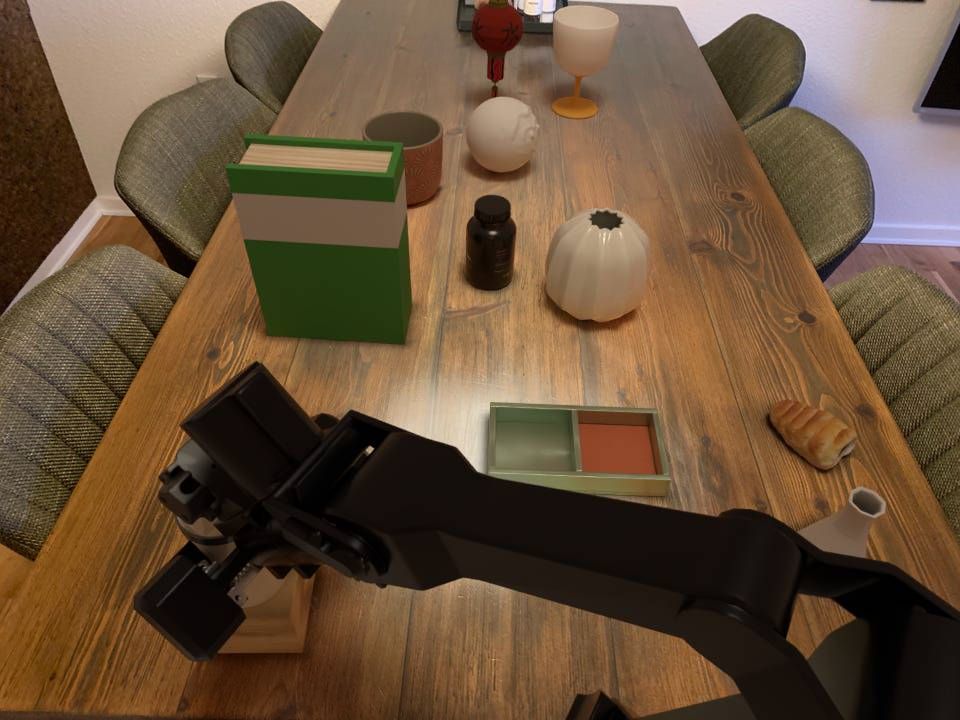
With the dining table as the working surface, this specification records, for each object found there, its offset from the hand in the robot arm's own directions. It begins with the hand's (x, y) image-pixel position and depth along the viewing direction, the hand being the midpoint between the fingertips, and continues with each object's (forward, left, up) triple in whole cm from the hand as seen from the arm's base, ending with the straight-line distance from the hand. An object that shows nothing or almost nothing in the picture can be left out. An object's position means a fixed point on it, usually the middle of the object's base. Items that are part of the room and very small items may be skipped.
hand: (224, 532), depth 57 cm
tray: (+27, -24, -12) cm, 38 cm away
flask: (+24, -50, -12) cm, 57 cm away
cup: (+109, -3, -12) cm, 110 cm away
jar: (0, -1, -5) cm, 5 cm away
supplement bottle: (+54, -4, -12) cm, 55 cm away
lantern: (+103, +12, -12) cm, 104 cm away
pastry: (+39, -48, -12) cm, 63 cm away
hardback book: (+38, +11, -12) cm, 41 cm away
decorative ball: (+83, +4, -12) cm, 84 cm away
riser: (0, -1, -12) cm, 12 cm away
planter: (+70, +16, -12) cm, 73 cm away
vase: (+54, -19, -12) cm, 58 cm away
